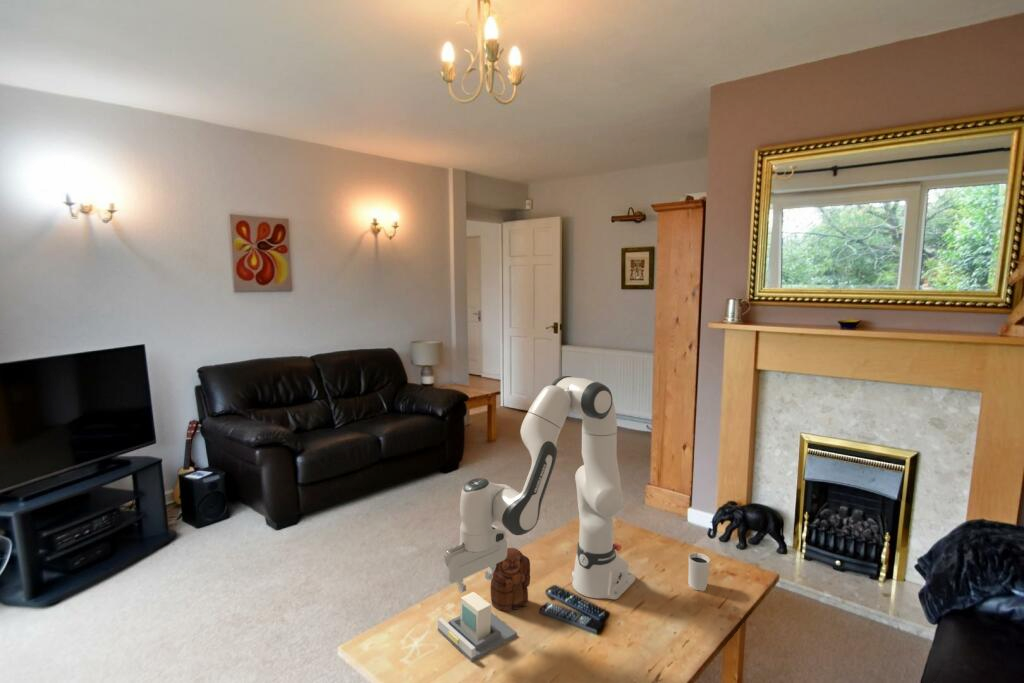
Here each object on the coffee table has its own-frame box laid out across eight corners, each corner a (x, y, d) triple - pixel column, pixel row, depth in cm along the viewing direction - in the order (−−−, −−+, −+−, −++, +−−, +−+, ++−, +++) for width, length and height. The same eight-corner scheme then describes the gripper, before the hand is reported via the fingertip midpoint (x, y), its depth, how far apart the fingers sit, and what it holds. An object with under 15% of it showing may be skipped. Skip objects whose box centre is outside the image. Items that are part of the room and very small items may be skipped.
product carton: (473, 620, 153) (473, 591, 152) (490, 634, 147) (490, 604, 146) (459, 627, 150) (460, 597, 149) (476, 642, 144) (477, 611, 143)
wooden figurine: (495, 614, 157) (496, 558, 155) (489, 602, 163) (490, 547, 161) (531, 607, 161) (533, 551, 159) (524, 595, 167) (525, 541, 165)
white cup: (701, 594, 170) (703, 565, 169) (683, 585, 175) (684, 557, 174) (711, 587, 174) (713, 558, 173) (693, 578, 179) (695, 550, 178)
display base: (482, 608, 160) (482, 597, 160) (516, 635, 148) (517, 624, 148) (436, 631, 149) (436, 619, 149) (470, 662, 137) (470, 650, 137)
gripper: (451, 555, 136) (451, 605, 137) (510, 531, 149) (510, 576, 151) (438, 545, 140) (438, 594, 142) (496, 523, 154) (496, 567, 155)
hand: (475, 584), depth 147 cm, fingers open, 8 cm apart
